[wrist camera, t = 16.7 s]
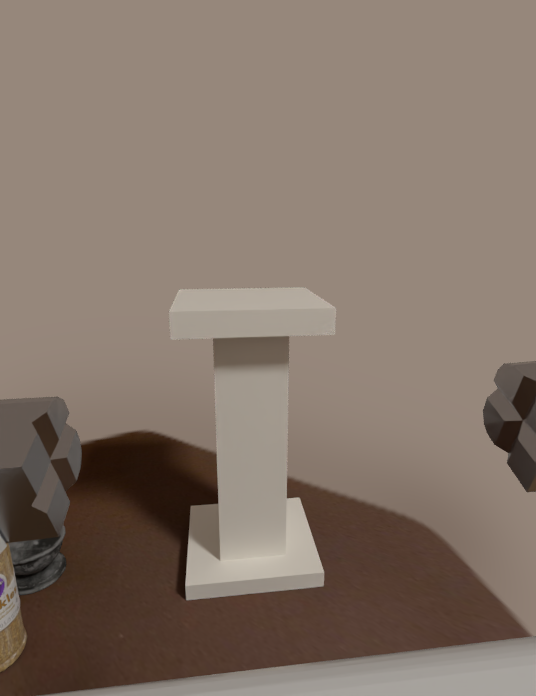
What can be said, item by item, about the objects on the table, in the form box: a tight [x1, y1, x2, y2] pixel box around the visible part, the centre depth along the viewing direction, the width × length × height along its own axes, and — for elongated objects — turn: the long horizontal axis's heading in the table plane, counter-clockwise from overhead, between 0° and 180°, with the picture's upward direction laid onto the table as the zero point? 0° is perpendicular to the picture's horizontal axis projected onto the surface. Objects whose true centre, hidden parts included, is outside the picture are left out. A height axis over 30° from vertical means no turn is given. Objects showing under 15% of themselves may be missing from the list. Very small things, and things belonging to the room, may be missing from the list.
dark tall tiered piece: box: [8, 525, 66, 595], centre depth 39 cm, size 6×6×12 cm
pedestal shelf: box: [169, 288, 336, 600], centre depth 40 cm, size 12×11×25 cm
